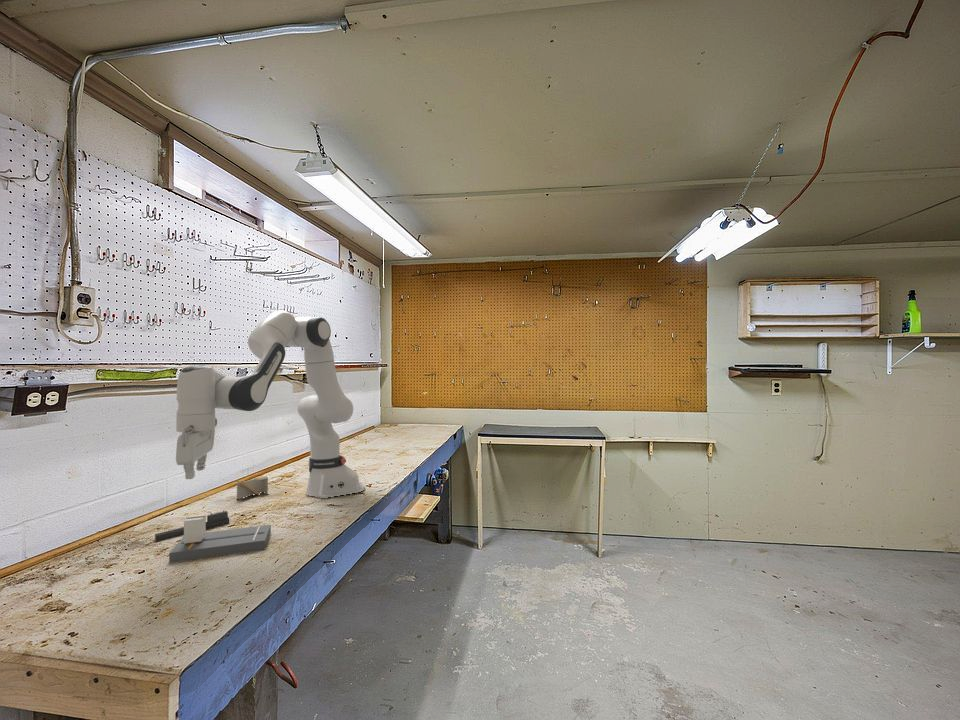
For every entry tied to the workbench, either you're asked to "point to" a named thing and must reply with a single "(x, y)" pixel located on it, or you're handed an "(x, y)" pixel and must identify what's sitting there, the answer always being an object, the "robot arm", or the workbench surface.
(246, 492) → the model
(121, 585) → the workbench surface
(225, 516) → the dark grey bar
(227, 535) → the slider console
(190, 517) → the fader cap
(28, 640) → the workbench surface
